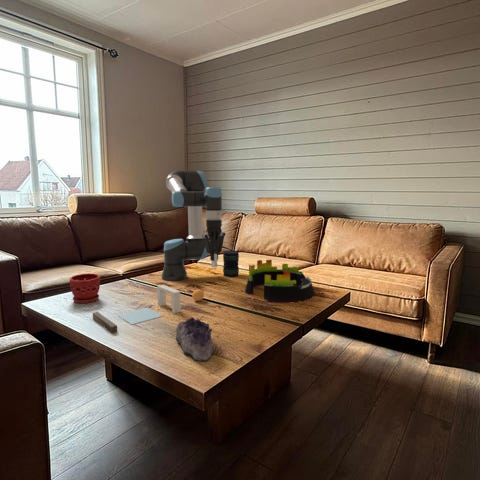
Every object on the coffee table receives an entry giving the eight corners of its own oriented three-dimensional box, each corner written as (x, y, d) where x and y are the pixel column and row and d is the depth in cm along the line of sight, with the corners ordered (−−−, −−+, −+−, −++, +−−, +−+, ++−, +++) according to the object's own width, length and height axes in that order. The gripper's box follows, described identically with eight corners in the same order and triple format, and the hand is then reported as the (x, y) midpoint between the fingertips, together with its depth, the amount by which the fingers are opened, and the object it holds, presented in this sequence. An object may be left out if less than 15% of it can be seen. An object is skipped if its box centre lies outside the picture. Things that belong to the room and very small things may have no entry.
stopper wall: (97, 317, 143) (97, 311, 143) (117, 331, 128) (117, 325, 128) (92, 318, 142) (92, 312, 141) (112, 333, 127) (111, 326, 127)
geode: (226, 358, 109) (222, 329, 107) (191, 370, 105) (187, 341, 102) (204, 332, 127) (201, 307, 125) (174, 341, 123) (170, 316, 120)
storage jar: (241, 276, 213) (241, 252, 210) (226, 277, 209) (226, 253, 207) (235, 272, 222) (235, 250, 220) (221, 274, 218) (220, 251, 216)
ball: (199, 298, 169) (199, 287, 168) (206, 300, 165) (206, 289, 164) (190, 300, 165) (189, 289, 164) (196, 303, 161) (196, 292, 160)
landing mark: (147, 307, 155) (147, 307, 155) (163, 316, 144) (163, 315, 144) (117, 315, 145) (117, 314, 145) (131, 324, 135) (131, 324, 135)
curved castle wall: (315, 306, 159) (316, 274, 157) (238, 300, 166) (238, 270, 164) (314, 285, 195) (315, 259, 193) (251, 281, 202) (251, 256, 200)
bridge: (163, 303, 161) (163, 284, 159) (180, 311, 150) (180, 291, 149) (158, 305, 159) (157, 285, 157) (174, 313, 148) (174, 292, 147)
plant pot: (65, 302, 162) (63, 277, 160) (88, 295, 173) (87, 272, 172) (83, 306, 156) (82, 281, 154) (107, 298, 167) (105, 275, 166)
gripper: (207, 220, 159) (208, 270, 162) (229, 219, 168) (229, 266, 171) (198, 219, 164) (199, 267, 168) (219, 218, 173) (219, 263, 176)
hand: (214, 266), depth 169 cm, fingers closed
